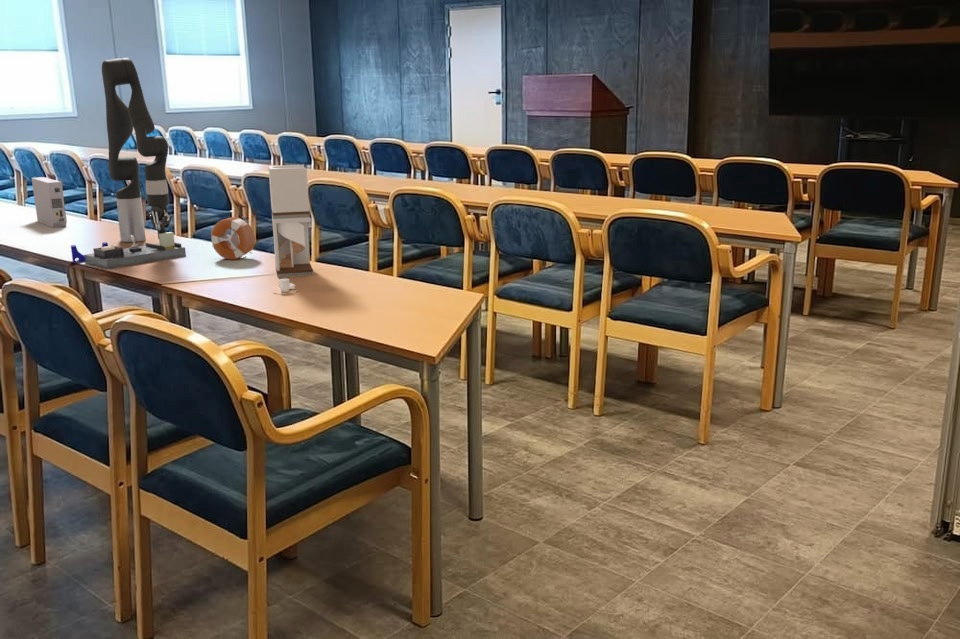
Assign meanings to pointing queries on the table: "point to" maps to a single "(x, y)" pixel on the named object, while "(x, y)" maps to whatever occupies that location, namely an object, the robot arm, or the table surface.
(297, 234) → the spiral ramp tower
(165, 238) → the pale green eraser block
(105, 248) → the button
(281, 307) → the table surface
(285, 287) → the teacup and saucer
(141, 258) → the panel
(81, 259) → the cable clip
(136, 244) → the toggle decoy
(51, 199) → the game console
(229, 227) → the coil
